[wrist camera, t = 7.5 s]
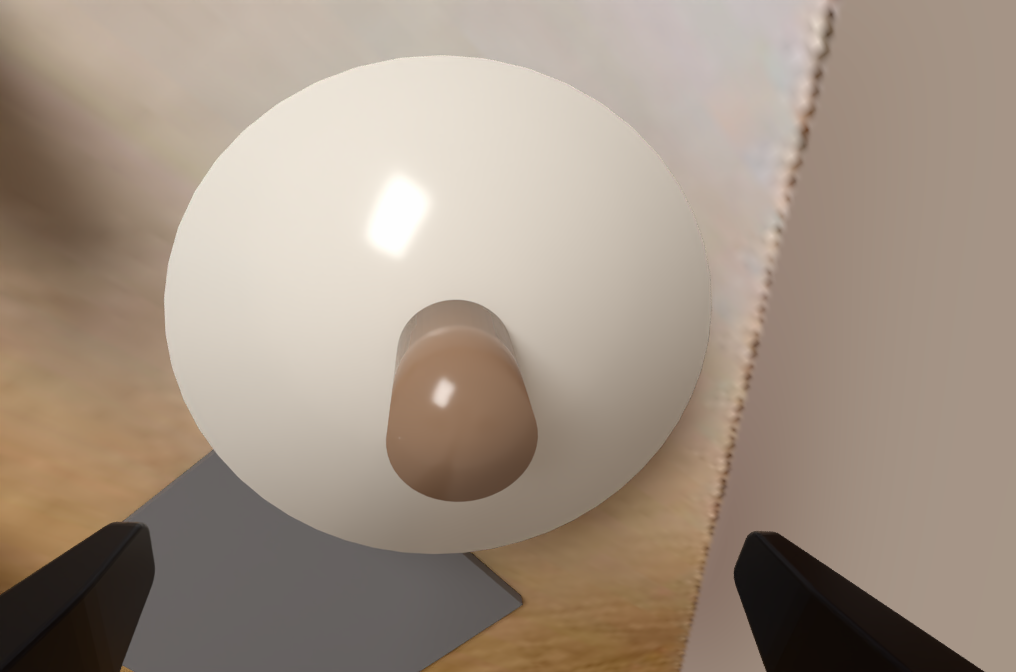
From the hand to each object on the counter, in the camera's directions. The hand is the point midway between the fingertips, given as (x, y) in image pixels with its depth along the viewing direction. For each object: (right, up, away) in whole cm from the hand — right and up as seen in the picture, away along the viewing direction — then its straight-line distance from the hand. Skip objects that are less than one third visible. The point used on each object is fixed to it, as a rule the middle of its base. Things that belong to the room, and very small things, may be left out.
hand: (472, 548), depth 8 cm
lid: (-1, +3, +7) cm, 8 cm away
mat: (-9, -9, +17) cm, 21 cm away
